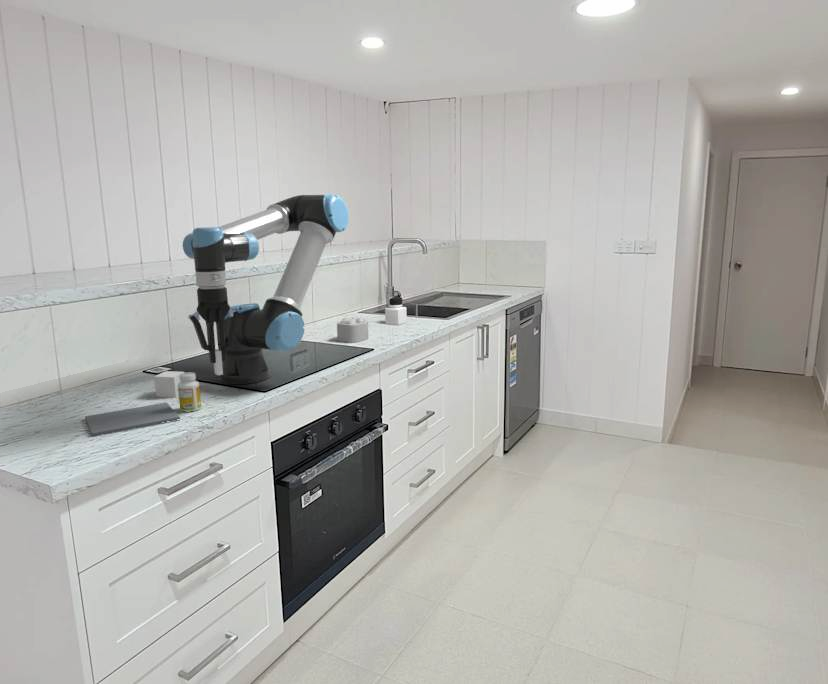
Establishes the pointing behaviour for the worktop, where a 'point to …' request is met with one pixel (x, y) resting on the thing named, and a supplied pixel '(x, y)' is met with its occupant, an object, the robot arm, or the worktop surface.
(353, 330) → the lumpy-topped squat cylinder
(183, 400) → the supplement bottle
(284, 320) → the robot arm
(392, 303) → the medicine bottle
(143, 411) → the rubber mat
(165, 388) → the grey cube
